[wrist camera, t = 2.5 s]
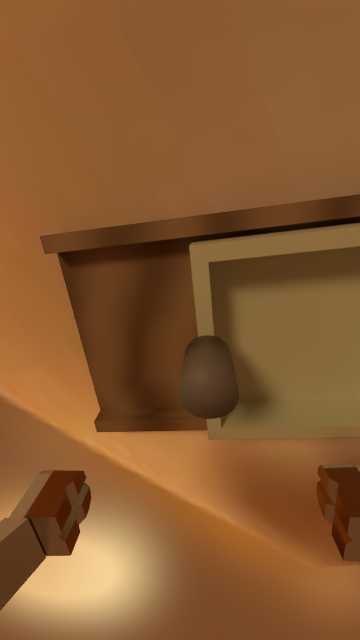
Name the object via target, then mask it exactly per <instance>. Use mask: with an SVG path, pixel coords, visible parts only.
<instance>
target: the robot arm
mask: <svg viewBox="0 0 360 640" xmlns="http://www.w3.org/2000/svg"><path fill="white" fill-rule="evenodd" d="M318 475H319V477H320V479H321V480H320V481H319V482H318V483H317V497H318V502H319V505H320V508H321V510H322V513H323V515H324V518H325V519H327V520H328V521H329V522H330V523H331V524H332V525H333V526H332V536H333V538H334V540H335V543H336V545H337V547H338V550H339V552H340V554H341V556H342V559H343V561H360V464H353V465H352V464H341V465H320V466H319V468H318ZM85 479H86V475H85V473H84V471H62V470H52V471H42V472H40V473H39V474H38V475H37V477H36V478H35V480H34V481H33V483H32V484H31V486H30V487H29V488H28V490H27V491H26V493H25V495H24V496H23V498H22V499H21V500H20V502H19V503H18V505H17V506H16V508H15V510H14V511H13V512H12V514H11V515H10V517H9V518H4V519H3V520H2V521H1V522H0V610H1V609H2V608H3V607H4V606H5V605H6V603H7V602H8V601H9V600H10V599H11V598H12V596H13V595H14V594H15V593H16V592H17V591H18V589H19V588H20V587H21V586H22V585H23V584H24V583H25V581H26V580H27V579H28V578H29V577H30V576H31V574H32V573H33V572H34V571H35V570H36V569H37V568H38V566H39V565H40V564H41V563H42V562H43V561H44V559H45V558H46V556H65V555H71V554H72V551H73V549H74V546H75V544H76V541H77V538H78V536H79V534H80V529H79V524H80V523H81V522H82V521H83V520H84V519H85V518H86V516H87V513H88V510H89V508H90V502H91V491H90V487H89V486H88V485H87V484H86V483H84V482H85Z"/></svg>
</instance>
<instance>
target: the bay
mask: <svg viewBox="0 0 360 640" xmlns="http://www.w3.org/2000/svg"><path fill="white" fill-rule="evenodd" d="M356 222H360V195H352V196H344V197H337V198H329V199H321V200H314V201H306V202H298V203H291V204H283V205H275V206H268V207H260V208H252V209H245V210H237V211H229V212H222V213H214V214H206V215H199V216H191V217H183V218H176V219H168V220H160V221H153V222H145V223H137V224H130V225H122V226H115V227H107V228H99V229H92V230H84V231H76V232H69V233H61V234H53V235H46V236H40V239H41V242H42V245H43V249H44V252H45V254H50V253H57V254H58V258H59V262H60V265H61V269H62V273H63V276H64V280H65V283H66V287H67V291H68V294H69V298H70V301H71V305H72V309H73V312H74V316H75V320H76V323H77V327H78V330H79V334H80V338H81V341H82V345H83V348H84V352H85V356H86V359H87V363H88V367H89V370H90V374H91V377H92V381H93V385H94V388H95V392H96V396H97V399H98V403H99V406H100V410H101V411H100V412H99V414H98V416H97V418H96V419H95V421H94V423H95V426H96V430H97V432H129V431H180V430H208V429H207V419H204V418H200V417H197V416H195V415H193V414H191V413H189V412H188V411H187V410H186V409H185V408H184V407H183V405H182V403H181V401H180V398H179V388H180V381H181V375H182V369H183V363H184V356H185V351H186V348H187V346H188V345H189V343H190V342H191V341H192V340H194V339H195V338H197V337H198V330H197V320H196V310H195V300H194V290H193V280H192V271H191V261H190V251H189V245H190V244H191V243H192V242H194V241H203V240H212V239H220V238H229V237H237V236H246V235H254V234H263V233H271V232H280V231H288V230H297V229H305V228H314V227H322V226H331V225H339V224H348V223H356Z"/></svg>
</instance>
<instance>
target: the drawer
mask: <svg viewBox="0 0 360 640" xmlns="http://www.w3.org/2000/svg"><path fill="white" fill-rule="evenodd" d="M189 251H190V261H191V271H192V280H193V290H194V300H195V310H196V320H197V330H198V337H197V338H195V339H194V340H192V341H191V342H190V343H189V345H188V346H187V348H186V351H185V356H184V363H183V369H182V375H181V381H180V388H179V398H180V401H181V403H182V405H183V407H184V408H185V409H186V410H187V411H188V412H189V413H191V414H193V415H195V416H197V417H200V418H204V419H207V429H208V439H209V440H210V439H277V438H345V437H360V222H356V223H348V224H339V225H331V226H322V227H314V228H305V229H297V230H288V231H280V232H271V233H263V234H254V235H246V236H237V237H229V238H220V239H212V240H203V241H194V242H192V243H191V244H190V245H189Z"/></svg>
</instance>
